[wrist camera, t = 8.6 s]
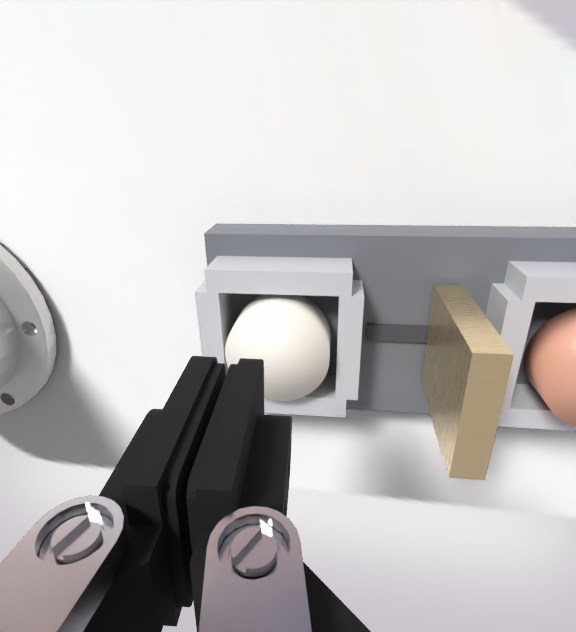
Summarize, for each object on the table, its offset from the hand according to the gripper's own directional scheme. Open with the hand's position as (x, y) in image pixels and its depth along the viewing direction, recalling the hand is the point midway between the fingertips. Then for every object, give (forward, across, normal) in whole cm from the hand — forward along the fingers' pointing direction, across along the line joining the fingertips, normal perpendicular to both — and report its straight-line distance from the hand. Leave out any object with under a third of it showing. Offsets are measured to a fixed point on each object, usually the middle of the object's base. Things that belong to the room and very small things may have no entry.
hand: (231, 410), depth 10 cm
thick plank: (+9, -8, +2) cm, 12 cm away
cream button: (+9, -1, +3) cm, 9 cm away
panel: (+12, -7, +2) cm, 14 cm away
